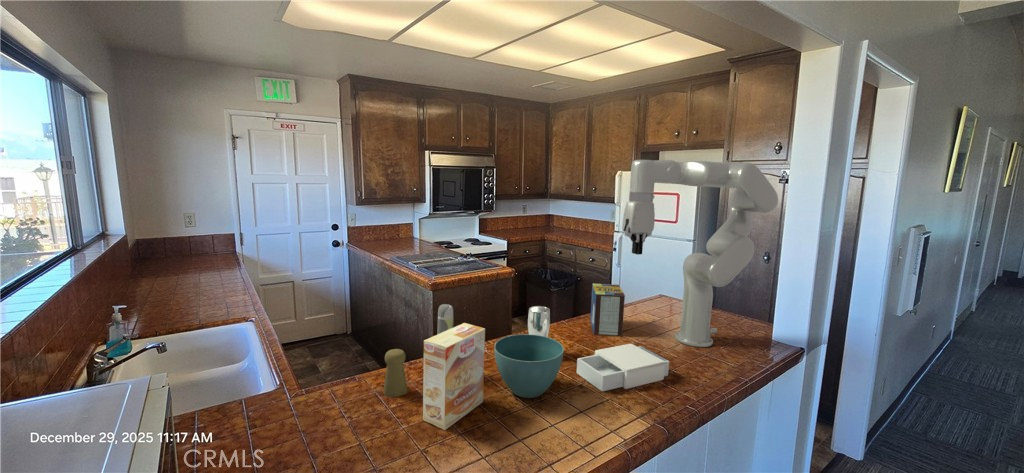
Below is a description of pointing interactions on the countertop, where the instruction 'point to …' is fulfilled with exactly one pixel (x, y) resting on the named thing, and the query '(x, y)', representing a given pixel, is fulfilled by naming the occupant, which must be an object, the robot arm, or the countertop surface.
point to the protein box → (607, 309)
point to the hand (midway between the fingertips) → (636, 253)
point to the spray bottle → (445, 318)
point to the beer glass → (539, 320)
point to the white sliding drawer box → (606, 371)
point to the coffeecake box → (453, 374)
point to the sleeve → (634, 364)
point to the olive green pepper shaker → (395, 373)
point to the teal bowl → (528, 363)
